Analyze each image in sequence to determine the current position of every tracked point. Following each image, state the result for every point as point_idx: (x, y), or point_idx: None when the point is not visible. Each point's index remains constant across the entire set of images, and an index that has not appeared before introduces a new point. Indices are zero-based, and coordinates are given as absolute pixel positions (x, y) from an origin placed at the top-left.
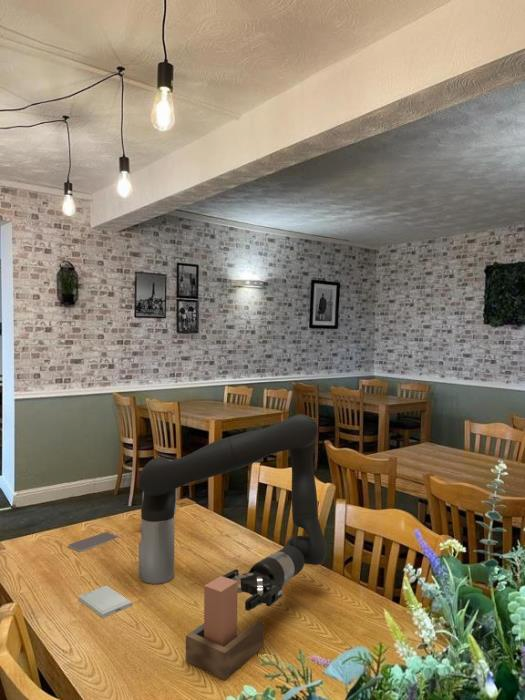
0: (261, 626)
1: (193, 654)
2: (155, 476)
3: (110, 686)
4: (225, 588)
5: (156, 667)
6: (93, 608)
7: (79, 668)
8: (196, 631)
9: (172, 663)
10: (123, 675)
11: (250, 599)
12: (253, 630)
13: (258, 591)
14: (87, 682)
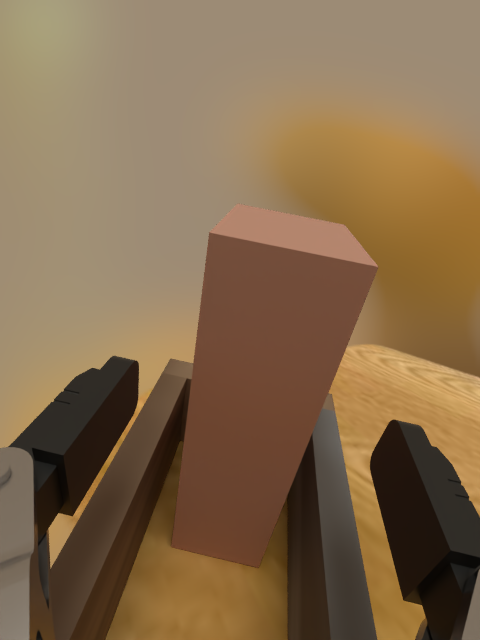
0: None
1: None
2: None
3: (359, 359)
4: (235, 210)
5: (345, 413)
6: None
7: (445, 377)
8: (322, 419)
9: None
10: (371, 380)
11: (101, 369)
12: (87, 505)
13: (20, 496)
14: (395, 358)
